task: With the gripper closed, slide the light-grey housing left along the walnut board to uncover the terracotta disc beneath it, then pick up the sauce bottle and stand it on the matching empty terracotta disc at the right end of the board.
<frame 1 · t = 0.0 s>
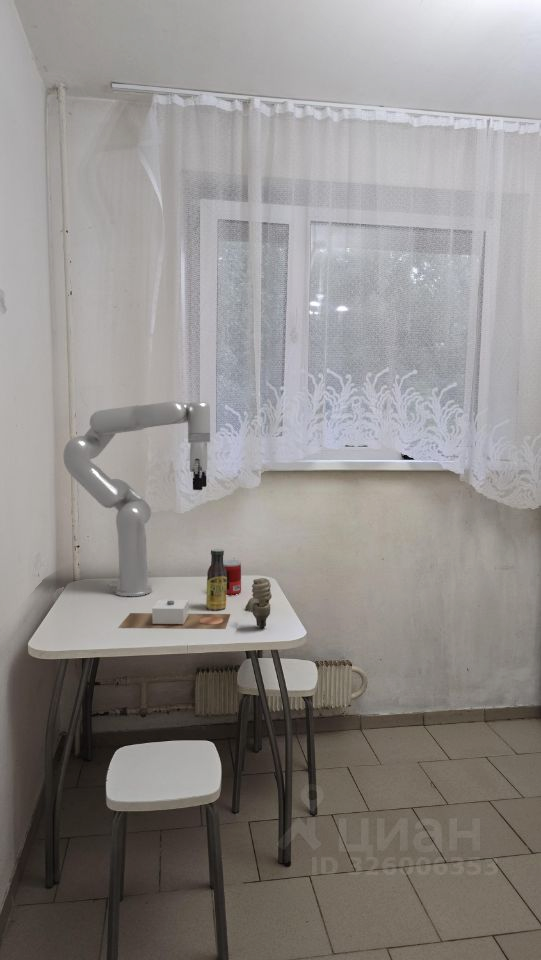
hand: (199, 488, 224), 37 cm above the table, tool pointing down, fingers open, 9 cm apart
beige rounded lump: (258, 611, 207), on the table
canned food: (230, 593, 228), on the table
light bulb: (261, 629, 189), on the table
sauce bottle: (216, 612, 206), on the table
board: (176, 624, 193), on the table
housing: (170, 610, 193), point 4 cm above the table, slide at 0.0 cm
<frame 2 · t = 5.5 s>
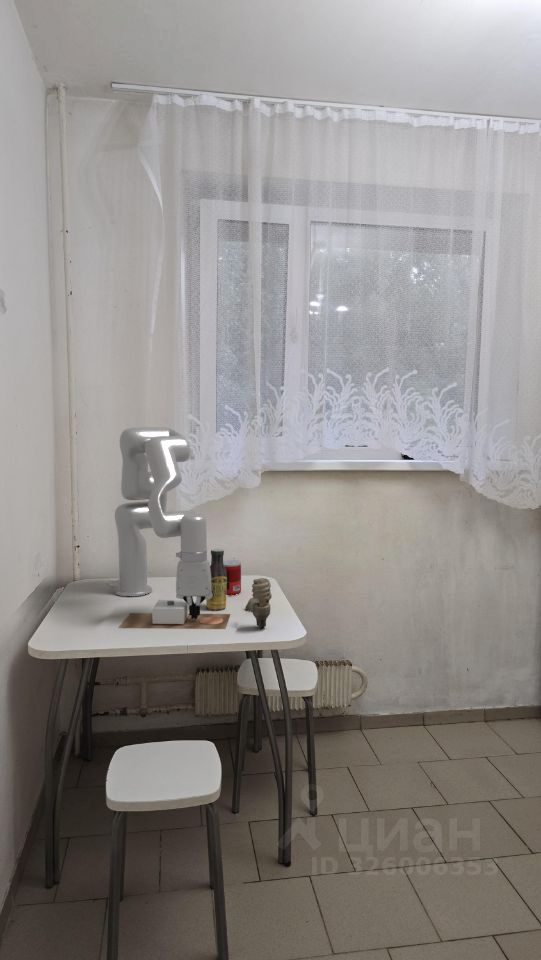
hand: (194, 617, 193), 2 cm above the table, tool pointing down, fingers closed
housing: (170, 610, 193), point 4 cm above the table, slide at 0.0 cm, touching gripper
everything else where it was.
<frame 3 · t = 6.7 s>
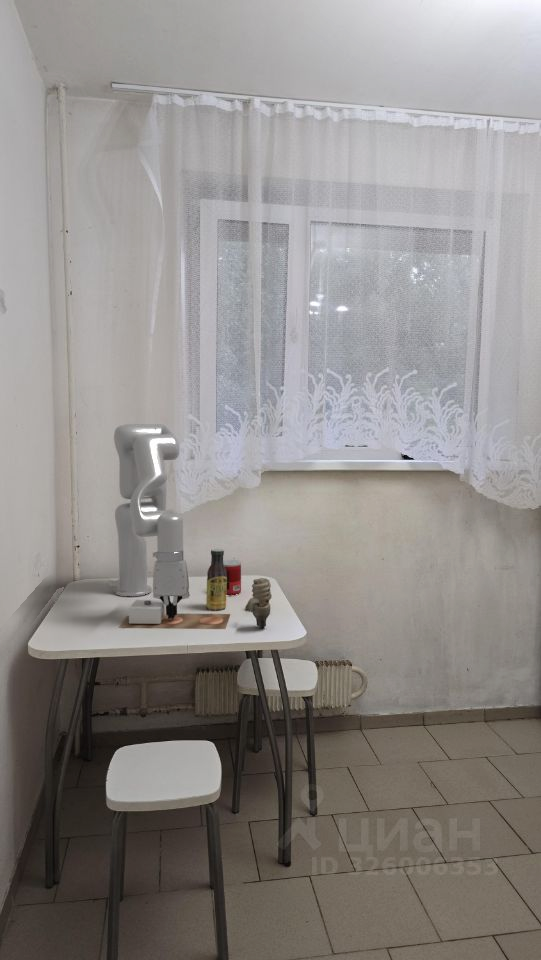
hand: (171, 617, 193), 2 cm above the table, tool pointing down, fingers closed
housing: (147, 610, 193), point 4 cm above the table, slide at 6.9 cm, touching gripper
everything else where it was.
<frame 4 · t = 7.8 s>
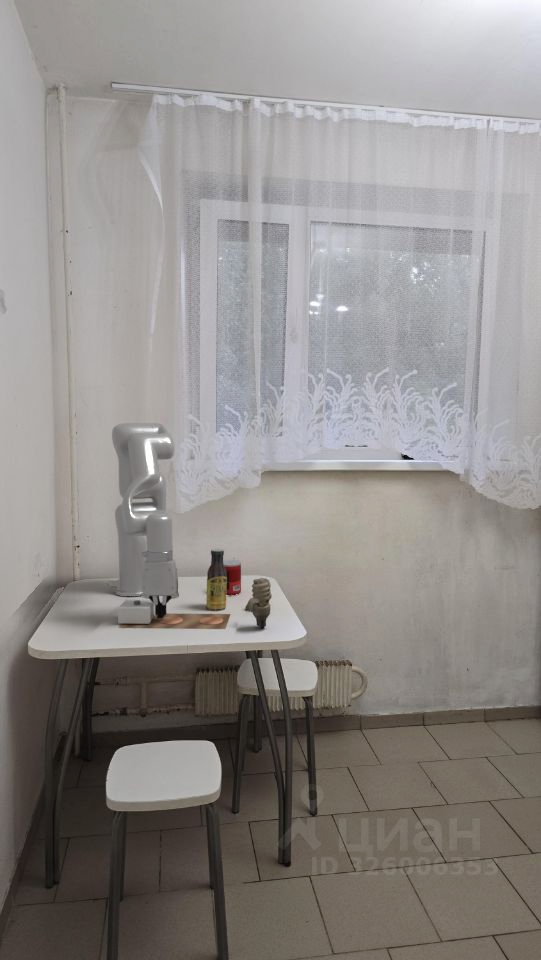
hand: (161, 616, 193), 2 cm above the table, tool pointing down, fingers closed
housing: (137, 609, 193), point 4 cm above the table, slide at 10.0 cm, touching gripper
everything else where it was.
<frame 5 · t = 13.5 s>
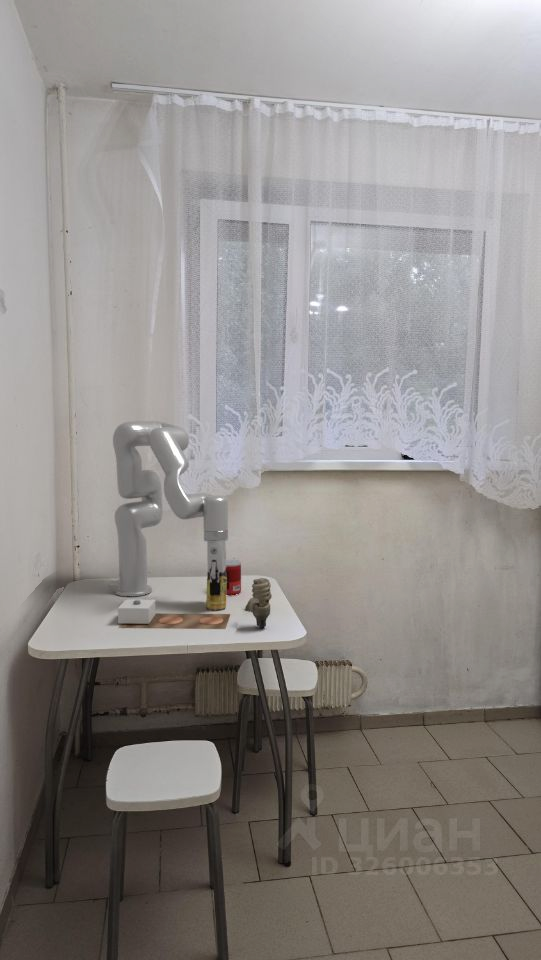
hand: (216, 591, 205), 7 cm above the table, tool pointing down, fingers closed on sauce bottle, 6 cm apart
sauce bottle: (216, 612, 206), on the table, touching gripper
housing: (137, 609, 193), point 4 cm above the table, slide at 10.1 cm
everything else where it was.
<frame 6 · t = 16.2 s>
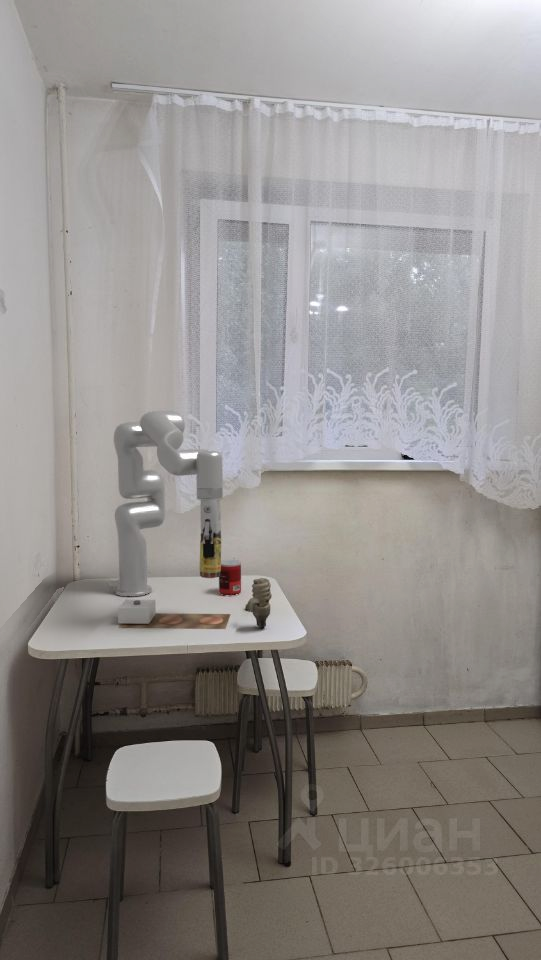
hand: (210, 554, 191), 21 cm above the table, tool pointing down, fingers closed on sauce bottle, 6 cm apart
sauce bottle: (210, 577, 192), point 14 cm above the table, touching gripper
everything else where it was.
when the fingers open (9 cm above the table, at t = 18.8 s): sauce bottle drops 1 cm, resting on board.
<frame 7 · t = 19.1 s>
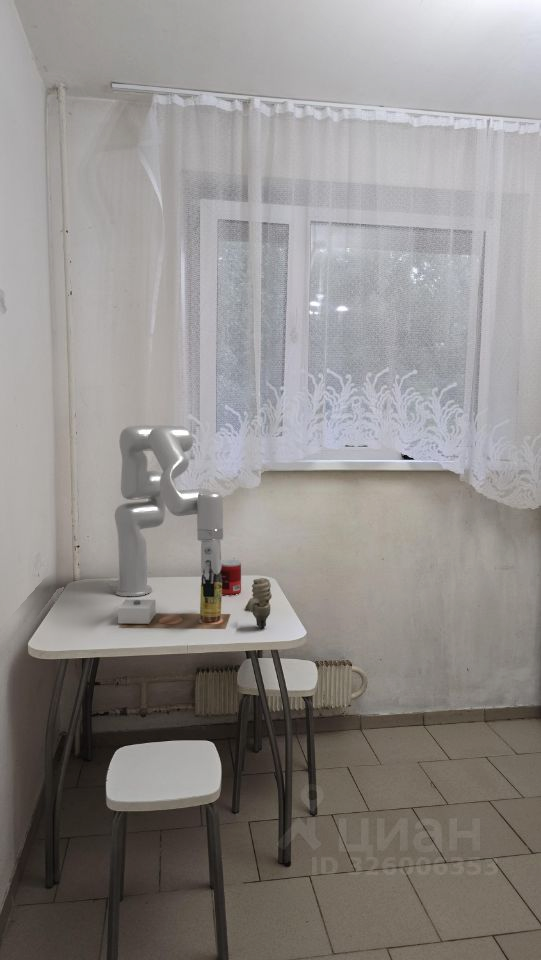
hand: (210, 592, 192), 10 cm above the table, tool pointing down, fingers open, 8 cm apart
sauce bottle: (211, 620, 193), point 1 cm above the table, touching board
everything else where it was.
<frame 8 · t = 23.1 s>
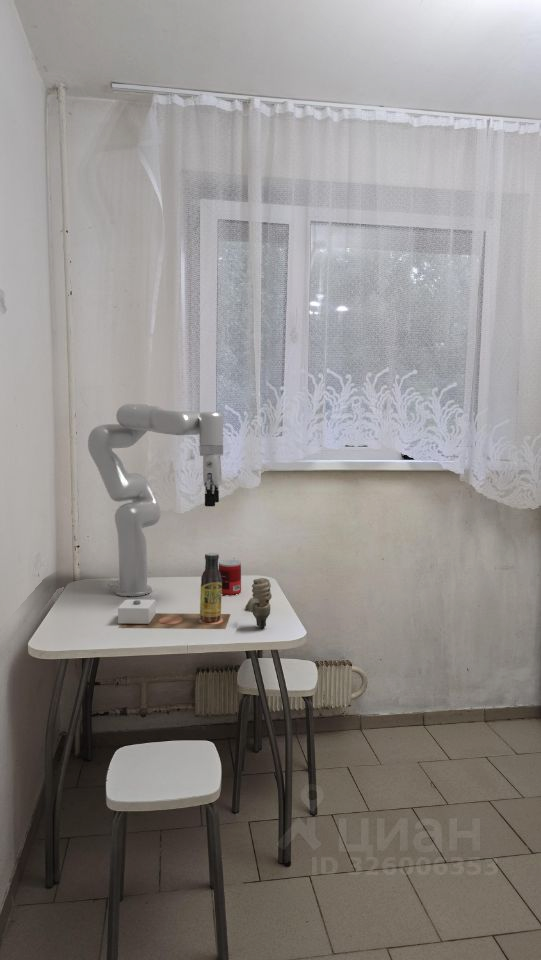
hand: (212, 504, 210), 33 cm above the table, tool pointing down, fingers open, 9 cm apart
nothing on the table moved.
at the end: housing slide at 10.1 cm; sauce bottle inside the target area (0.4 cm from its centre), point 1.2 cm above the table; sauce bottle tilted 0° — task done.
